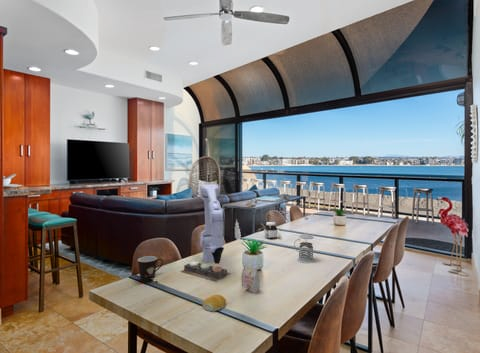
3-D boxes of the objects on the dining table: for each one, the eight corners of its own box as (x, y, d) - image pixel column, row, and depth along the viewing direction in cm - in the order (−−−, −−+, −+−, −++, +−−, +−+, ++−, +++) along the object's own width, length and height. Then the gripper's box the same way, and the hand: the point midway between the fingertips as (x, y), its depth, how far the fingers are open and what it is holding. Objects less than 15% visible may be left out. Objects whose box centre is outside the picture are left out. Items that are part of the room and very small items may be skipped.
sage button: (204, 267, 146) (204, 263, 146) (211, 268, 143) (211, 264, 143) (198, 269, 142) (198, 265, 142) (205, 271, 140) (205, 267, 140)
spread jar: (263, 237, 221) (263, 222, 220) (275, 235, 226) (275, 220, 225) (271, 240, 210) (271, 224, 210) (284, 239, 215) (284, 223, 214)
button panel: (196, 267, 154) (195, 260, 154) (231, 276, 142) (231, 268, 141) (179, 274, 144) (179, 266, 144) (216, 284, 132) (216, 276, 131)
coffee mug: (137, 284, 132) (137, 262, 132) (138, 277, 141) (138, 257, 140) (163, 281, 136) (163, 260, 135) (163, 275, 144) (163, 255, 143)
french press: (315, 263, 160) (315, 218, 159) (294, 262, 162) (294, 218, 161) (314, 258, 169) (314, 216, 169) (294, 257, 172) (294, 215, 171)
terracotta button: (216, 269, 142) (216, 265, 142) (223, 271, 139) (223, 267, 139) (210, 272, 138) (210, 268, 138) (218, 274, 136) (218, 270, 136)
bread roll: (230, 304, 113) (230, 294, 113) (215, 314, 106) (215, 303, 106) (214, 299, 118) (214, 289, 118) (198, 307, 111) (198, 297, 111)
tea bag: (247, 286, 130) (247, 264, 129) (259, 290, 125) (259, 268, 125) (242, 289, 127) (241, 266, 126) (254, 293, 123) (254, 270, 122)
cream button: (193, 264, 150) (193, 260, 150) (200, 265, 148) (200, 262, 147) (187, 266, 146) (187, 262, 146) (194, 268, 144) (194, 264, 144)
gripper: (214, 231, 146) (214, 257, 146) (203, 238, 132) (203, 267, 133) (227, 232, 144) (227, 259, 145) (218, 238, 130) (218, 268, 131)
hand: (217, 263), depth 138 cm, fingers closed
